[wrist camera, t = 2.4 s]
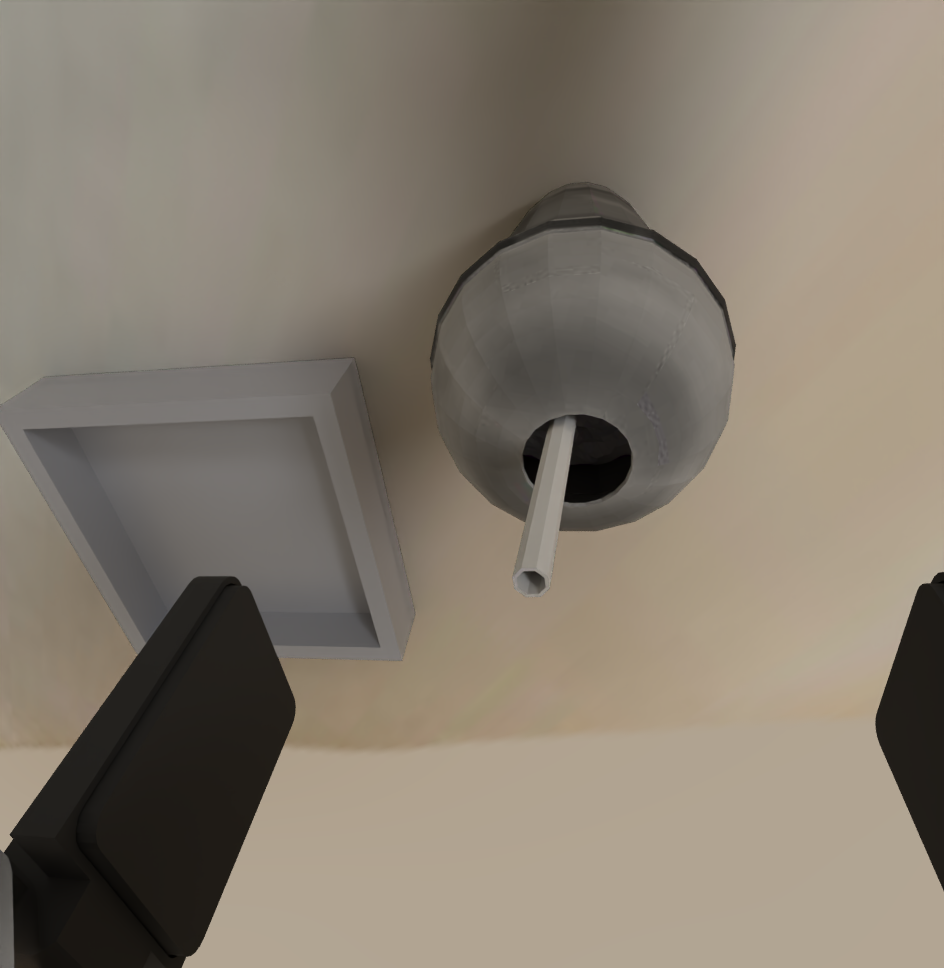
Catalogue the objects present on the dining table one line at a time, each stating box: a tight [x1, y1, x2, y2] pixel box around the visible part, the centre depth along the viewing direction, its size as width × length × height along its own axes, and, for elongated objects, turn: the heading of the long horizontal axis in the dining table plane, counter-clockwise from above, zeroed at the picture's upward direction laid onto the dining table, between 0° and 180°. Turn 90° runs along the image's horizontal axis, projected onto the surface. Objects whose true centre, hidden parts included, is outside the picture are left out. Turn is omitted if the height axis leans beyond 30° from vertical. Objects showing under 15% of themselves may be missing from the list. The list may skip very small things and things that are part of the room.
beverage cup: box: [430, 182, 736, 597], centre depth 17 cm, size 7×7×20 cm
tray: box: [0, 358, 415, 661], centre depth 34 cm, size 16×16×4 cm
